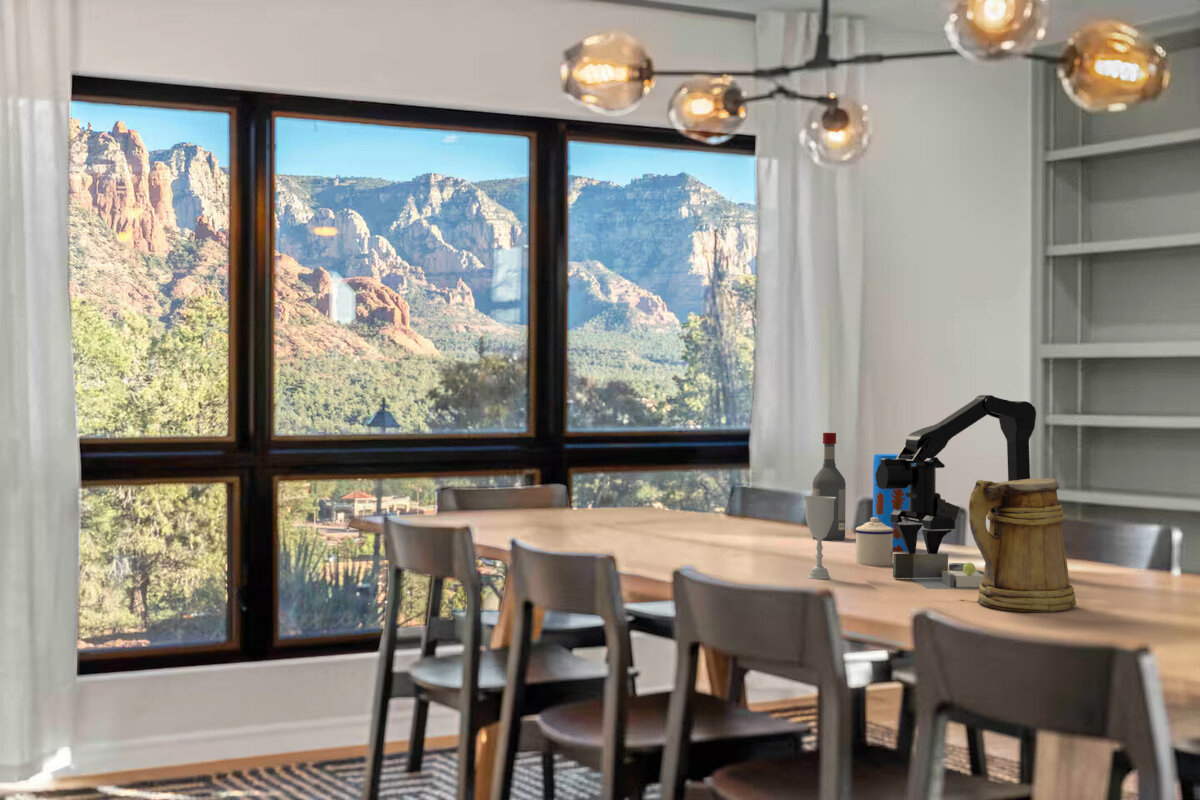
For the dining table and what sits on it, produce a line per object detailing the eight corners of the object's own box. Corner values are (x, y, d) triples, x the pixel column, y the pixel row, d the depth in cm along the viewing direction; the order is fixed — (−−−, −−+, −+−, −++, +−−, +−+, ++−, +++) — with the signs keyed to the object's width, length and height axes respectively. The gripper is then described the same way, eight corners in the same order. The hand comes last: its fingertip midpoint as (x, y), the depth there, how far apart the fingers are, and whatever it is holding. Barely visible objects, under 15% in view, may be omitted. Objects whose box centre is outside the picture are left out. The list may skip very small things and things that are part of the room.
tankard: (1096, 609, 272) (1097, 480, 272) (1006, 618, 261) (1007, 483, 260) (1026, 596, 288) (1027, 474, 288) (938, 604, 277) (940, 477, 276)
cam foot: (974, 582, 303) (975, 558, 303) (985, 587, 295) (985, 563, 295) (946, 581, 303) (947, 558, 303) (956, 587, 295) (956, 563, 295)
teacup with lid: (901, 568, 333) (901, 519, 333) (866, 569, 330) (867, 519, 330) (875, 562, 344) (875, 514, 344) (842, 563, 341) (842, 515, 341)
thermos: (918, 551, 368) (918, 456, 368) (876, 551, 368) (877, 455, 368) (909, 546, 379) (910, 454, 378) (869, 546, 379) (870, 453, 379)
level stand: (996, 576, 319) (997, 560, 319) (1032, 592, 293) (1032, 575, 293) (900, 575, 319) (900, 559, 319) (927, 592, 293) (927, 574, 293)
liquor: (812, 540, 394) (812, 433, 394) (812, 536, 403) (813, 432, 403) (845, 540, 393) (846, 433, 393) (844, 537, 402) (845, 432, 402)
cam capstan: (890, 577, 310) (890, 552, 310) (970, 576, 312) (971, 552, 312) (904, 582, 301) (904, 557, 301) (987, 581, 303) (987, 556, 303)
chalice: (839, 576, 317) (839, 496, 317) (831, 580, 310) (831, 498, 310) (807, 574, 320) (808, 495, 320) (798, 578, 314) (799, 497, 313)
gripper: (977, 490, 308) (976, 561, 308) (932, 484, 325) (932, 551, 326) (931, 491, 304) (931, 563, 305) (889, 485, 322) (889, 553, 322)
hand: (922, 558), depth 314 cm, fingers open, 8 cm apart
